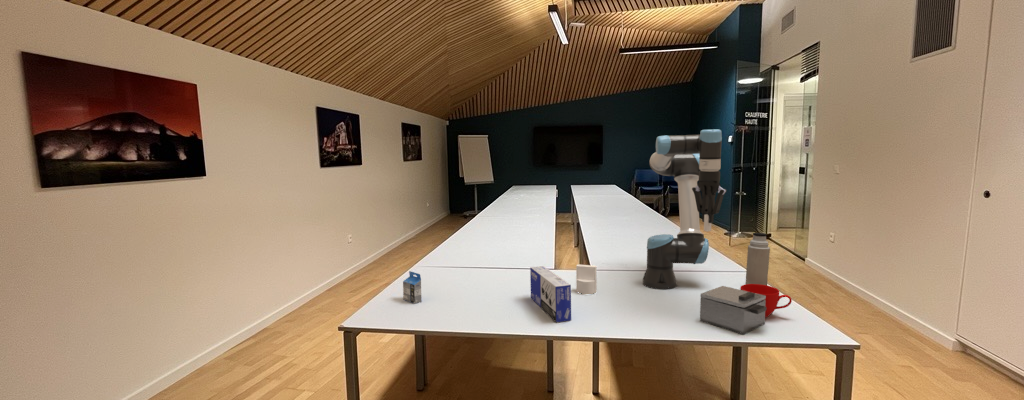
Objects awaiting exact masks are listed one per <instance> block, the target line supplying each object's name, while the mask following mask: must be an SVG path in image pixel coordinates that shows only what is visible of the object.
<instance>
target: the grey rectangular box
mask: <svg viewBox="0 0 1024 400" xmlns="http://www.w3.org/2000/svg"><path fill="white" fill-rule="evenodd" d="M765 304H766V300H762V301H760V302H757V303H755V304H753V305H750V306H748V307H746V308H742V307H738V306H734V305H730V304H726V303H723V302H719V301H715V300H711V299H707V298H703V297H701V296H700V304H699V305H700V307H699V321H700V322H702V323H705V324H708V325H712V326H714V327H717V328H721V329H723V330H728V331H730V332H733V333H736V334H740V335H746V334H748V333H750V332H751V331H754V330H756V329H757V328H760V327H762V326H764V325H765V324H766V323H765V322H766V317H765V311H766V307H765Z"/></svg>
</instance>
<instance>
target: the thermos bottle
mask: <svg viewBox="0 0 1024 400" xmlns="http://www.w3.org/2000/svg"><path fill="white" fill-rule="evenodd" d="M752 235H753V236H752V239H751V240H749V245H747V255H746V256H747V257H746V270H745V271H746V272H745V284H761V285H767V286H768V277H769V274H768V273H769V267H770V265H769V264H770V255H771V253H770V251H771V248H770V246H769V241H768V240H767V233H764V232H753V233H752ZM745 284H744V285H745Z"/></svg>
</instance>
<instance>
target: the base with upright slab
mask: <svg viewBox="0 0 1024 400" xmlns="http://www.w3.org/2000/svg"><path fill="white" fill-rule="evenodd" d="M575 266H576V269H575V271H576V272H575V274H576V276H575V279H576V283H575V284H576V285H575V286H576V287H575V289H576V291H577V292H579V293H582V294H593V293H596V292H597V290H598V289H597V286H598V285H597V283H598V282H597V279H598V278H597V276H598V273H597V268H598V266H597V265H591V264H579V263H578V264H576V265H575ZM577 292H576V293H577ZM579 293H578V294H579ZM597 293H598V292H597ZM597 293H596V294H597ZM582 294H581V295H582ZM593 295H594V294H593Z"/></svg>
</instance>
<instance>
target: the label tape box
mask: <svg viewBox="0 0 1024 400" xmlns="http://www.w3.org/2000/svg"><path fill="white" fill-rule="evenodd" d="M408 273H409V276H408V277H407V278H405V279H404V280H403V281H402V291H403V293H402V296H403V297H402V299H403V301H405V302H410V303H412V304H419V302H420V303H422V301H423V300H422V278H421V274H420V273H417V272H414V271H410V270H409V271H408Z"/></svg>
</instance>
